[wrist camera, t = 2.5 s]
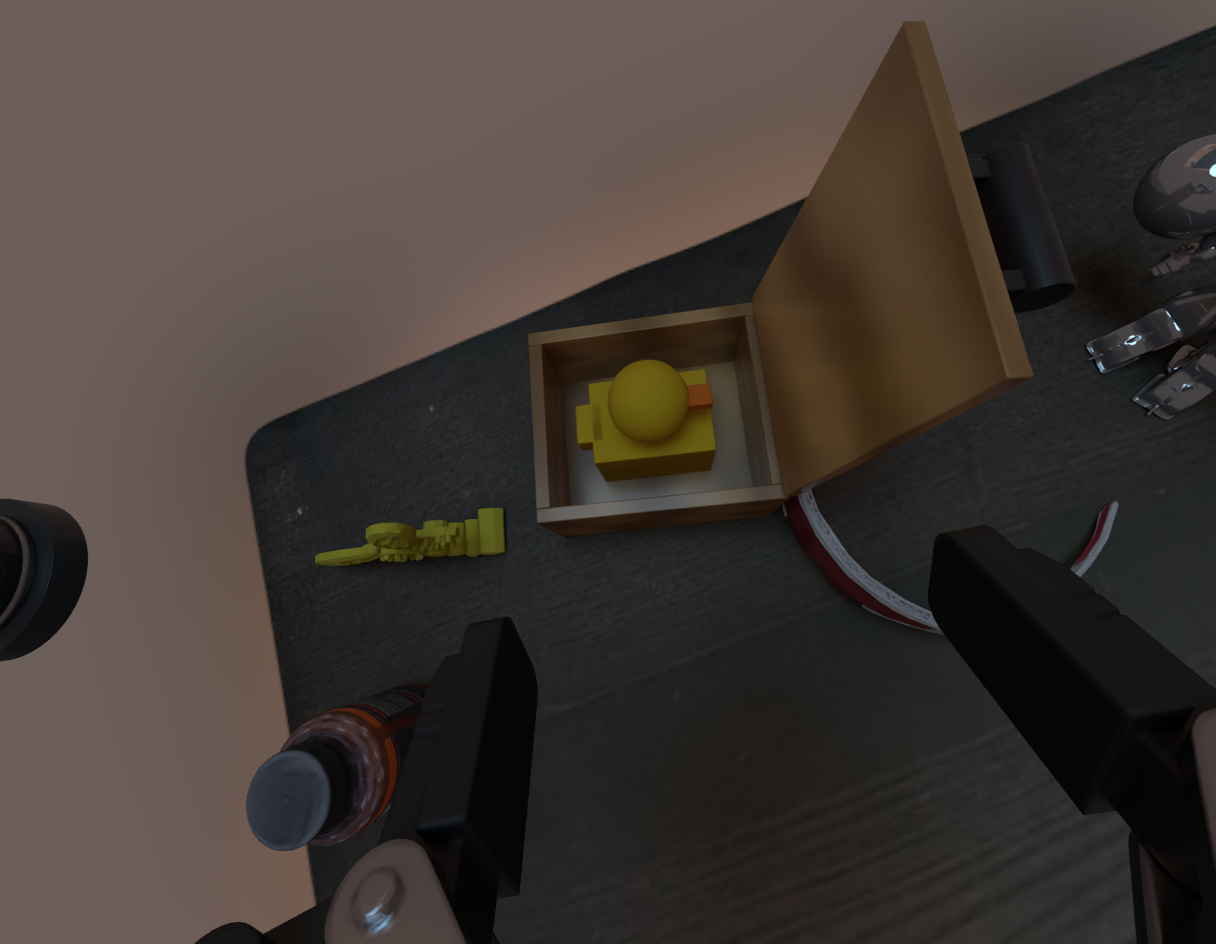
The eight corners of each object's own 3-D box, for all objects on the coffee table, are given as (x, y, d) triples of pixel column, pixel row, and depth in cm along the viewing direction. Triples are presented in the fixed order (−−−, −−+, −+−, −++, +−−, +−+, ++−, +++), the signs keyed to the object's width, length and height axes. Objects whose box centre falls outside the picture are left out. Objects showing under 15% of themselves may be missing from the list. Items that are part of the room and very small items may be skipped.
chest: (563, 536, 35) (536, 523, 28) (553, 379, 38) (527, 333, 31) (767, 517, 33) (790, 498, 27) (742, 354, 36) (756, 301, 30)
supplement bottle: (364, 695, 34) (218, 742, 23) (449, 671, 34) (340, 708, 23) (377, 793, 33) (227, 893, 22) (466, 770, 32) (358, 859, 21)
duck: (592, 483, 35) (562, 442, 25) (587, 413, 36) (556, 351, 27) (710, 470, 34) (723, 424, 25) (701, 399, 35) (710, 330, 26)
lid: (1008, 378, 13) (1179, 368, 13) (903, 20, 15) (1045, 18, 16) (784, 496, 26) (869, 491, 27) (751, 297, 29) (828, 294, 30)
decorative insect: (454, 569, 41) (311, 573, 34) (453, 528, 41) (313, 524, 35) (548, 545, 31) (375, 545, 25) (544, 492, 32) (376, 479, 26)
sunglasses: (715, 467, 34) (734, 438, 30) (892, 343, 38) (935, 298, 33) (905, 697, 30) (963, 705, 25) (1087, 531, 33) (1167, 511, 29)
